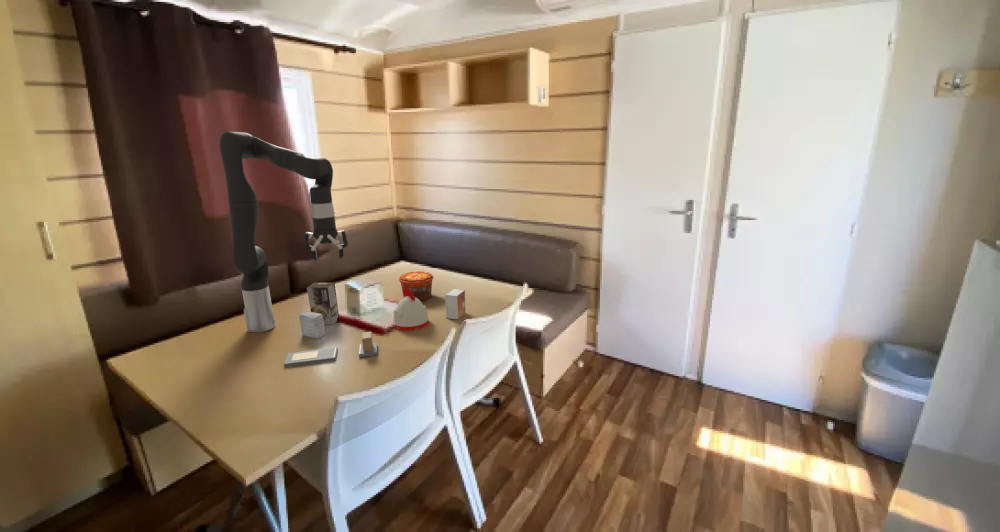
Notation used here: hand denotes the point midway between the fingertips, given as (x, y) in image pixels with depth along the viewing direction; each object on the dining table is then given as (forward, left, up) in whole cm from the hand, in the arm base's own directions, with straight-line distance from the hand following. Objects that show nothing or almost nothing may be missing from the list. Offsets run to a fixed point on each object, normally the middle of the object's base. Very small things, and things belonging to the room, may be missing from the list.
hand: (328, 259), depth 161 cm
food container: (+33, +34, -30) cm, 56 cm away
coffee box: (-6, +15, -30) cm, 34 cm away
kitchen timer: (+28, +3, -30) cm, 41 cm away
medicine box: (-9, +2, -30) cm, 32 cm away
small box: (+47, +6, -30) cm, 56 cm away
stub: (+12, -18, -30) cm, 37 cm away
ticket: (-7, -18, -30) cm, 36 cm away
